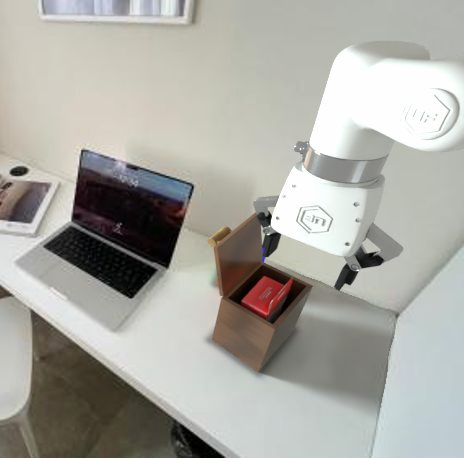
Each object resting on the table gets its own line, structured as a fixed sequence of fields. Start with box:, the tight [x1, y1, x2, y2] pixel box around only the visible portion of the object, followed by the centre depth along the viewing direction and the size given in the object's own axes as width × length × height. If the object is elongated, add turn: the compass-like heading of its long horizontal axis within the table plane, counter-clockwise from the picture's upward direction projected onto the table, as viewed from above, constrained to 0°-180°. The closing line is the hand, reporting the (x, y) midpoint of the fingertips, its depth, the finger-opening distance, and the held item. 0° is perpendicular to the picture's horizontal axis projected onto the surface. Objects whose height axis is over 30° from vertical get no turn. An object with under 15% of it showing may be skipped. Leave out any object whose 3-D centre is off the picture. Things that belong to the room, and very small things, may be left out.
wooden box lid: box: [207, 211, 263, 297], centre depth 67 cm, size 10×14×5 cm
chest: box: [211, 261, 314, 373], centre depth 68 cm, size 10×14×13 cm
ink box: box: [240, 276, 293, 324], centre depth 67 cm, size 8×5×15 cm, turn 131°
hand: (302, 267), depth 52 cm, fingers open, 9 cm apart
